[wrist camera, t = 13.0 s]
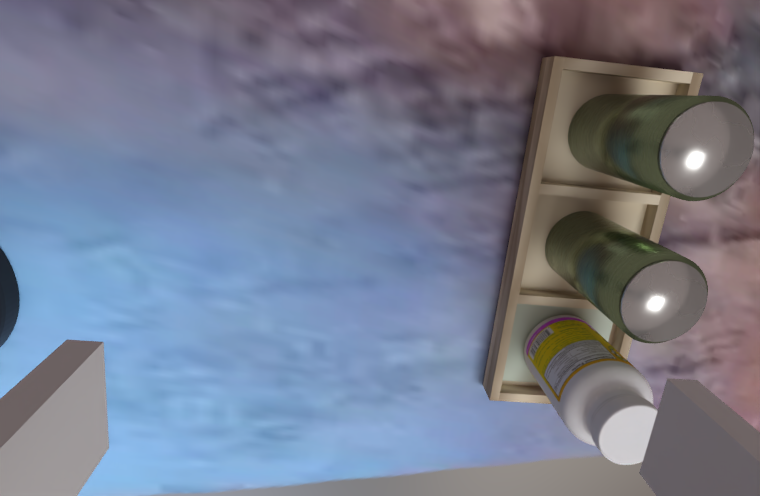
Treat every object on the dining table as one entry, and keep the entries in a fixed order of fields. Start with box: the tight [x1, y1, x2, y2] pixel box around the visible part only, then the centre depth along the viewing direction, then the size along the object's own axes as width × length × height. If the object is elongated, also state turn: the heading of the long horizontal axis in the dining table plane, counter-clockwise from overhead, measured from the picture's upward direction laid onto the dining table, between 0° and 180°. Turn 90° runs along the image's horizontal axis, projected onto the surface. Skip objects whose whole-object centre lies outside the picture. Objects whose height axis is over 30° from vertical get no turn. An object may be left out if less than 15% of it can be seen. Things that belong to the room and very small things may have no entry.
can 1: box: [568, 94, 754, 201], centre depth 36 cm, size 6×6×12 cm
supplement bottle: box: [524, 315, 658, 465], centre depth 40 cm, size 7×7×13 cm
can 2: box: [545, 211, 708, 343], centre depth 38 cm, size 6×6×12 cm
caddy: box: [483, 56, 703, 404], centre depth 44 cm, size 12×29×2 cm, turn 174°
